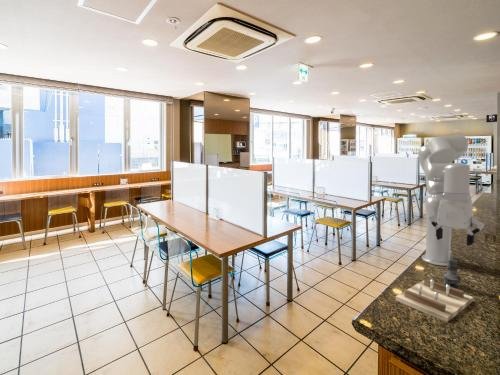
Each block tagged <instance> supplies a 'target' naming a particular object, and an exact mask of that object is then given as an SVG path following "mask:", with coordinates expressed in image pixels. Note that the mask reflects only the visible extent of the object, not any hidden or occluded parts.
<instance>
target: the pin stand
mask: <svg viewBox="0 0 500 375" xmlns="http://www.w3.org/2000/svg"><path fill="white" fill-rule="evenodd" d="M395 302H399V303H401V304H403V305H406V306H409V307H410V308H413V309H416V310H417V311H420V312H421V313H424V314H427V315H430V316H431V317H434V318H436V319H439V320H441V321H443V322H446V323H448V322H450V320H452V319H453V318H454V317H456V316H457V315H458V314H460V313H461V312H462V311H463V310H465V308H466V307H468V306H469V305H470V304H472V303H473V302H474V296H471V295H468V294H465V290H461V289H455V288H452V287H450V285H448V284H446V285H443V283H440V282H437V281H435V280H434V279H432V278H431V279H428V278H426V279H424V280H422V281H419V282H418V283H416V284H415V285H413V286H412V287H411V286H410V288H408V289H406V290H404V291H402V292H400V293H399V294H397V295H396V296H395Z"/></svg>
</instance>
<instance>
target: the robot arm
mask: <svg viewBox="0 0 500 375" xmlns="http://www.w3.org/2000/svg"><path fill="white" fill-rule="evenodd" d="M468 147H469V141H468V139H467V137H466V136H465V135H461V134H454V135H453V134H452V135H439V136H435V137H433V138H431V140H429V142H428V144H425V145H422V146H421V147H419V149H418V155H417V157H418V161H419V162H418V163H419V164H420V165H419V166H420V167H421V169H422V170H423V173H424V177H425V185H426V190H427V193H428V194H429V196H428V197H426V198H425V202H424V204H425V205H424V206H425V213H426V234H425V235H426V236H425V239H426V240H425V254H422V255H421V259H422V261H424V262H426V263H427V264H432V265H435V266H442V267H444V266H445V267H447V266H448V259H449V258H451V254H452V250H451V249H452V248H451V243H452V242H451V241H452V229H458V230H465V231H466V232H467V234H466V246H468V247H469V246H471V245H473V244H474V243H475V234H478V233H479V232H481V231H482V229H483V228H484V227H485V223H483V222H481V221H479V220H478V219H476V218H475V217H474V215H473V213H474V212H473V209H474V207H473V201H472V196H471V192H470V180H471V178H470V176H471V175H470V174H471V167H470V165H468V164H466V163H463V162H454V161H457V160H460V158H461V157H462V156H463V155H464V154H466V152H467V150H468ZM473 224H474V225H476V228H473Z"/></svg>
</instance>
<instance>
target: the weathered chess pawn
mask: <svg viewBox="0 0 500 375" xmlns="http://www.w3.org/2000/svg"><path fill="white" fill-rule="evenodd" d="M446 268H447V271H446V273H443V274H442V277H443V280H444V282H443V283H442V284H443V285H446V284H448V285H450V287H452V288H455V289H458V290H460V289H461V286H460V285H459V284H460V282H461V281H462V277H461V276H460V275H458V270H459V267H458V260H457V258H455V256H454V255H452V256H451V257H450V258H449V259H448V266H446Z"/></svg>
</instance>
